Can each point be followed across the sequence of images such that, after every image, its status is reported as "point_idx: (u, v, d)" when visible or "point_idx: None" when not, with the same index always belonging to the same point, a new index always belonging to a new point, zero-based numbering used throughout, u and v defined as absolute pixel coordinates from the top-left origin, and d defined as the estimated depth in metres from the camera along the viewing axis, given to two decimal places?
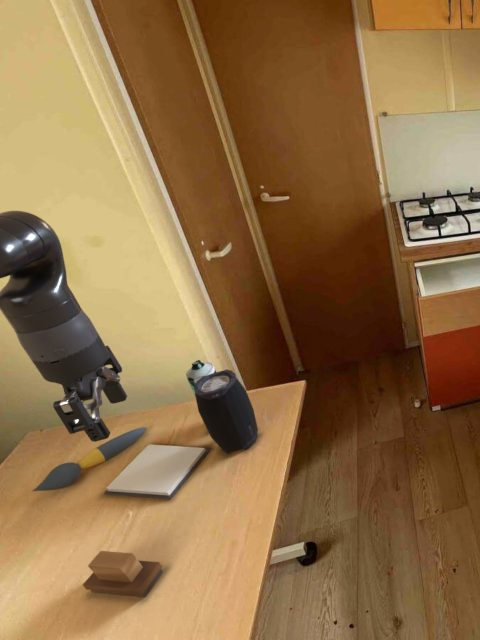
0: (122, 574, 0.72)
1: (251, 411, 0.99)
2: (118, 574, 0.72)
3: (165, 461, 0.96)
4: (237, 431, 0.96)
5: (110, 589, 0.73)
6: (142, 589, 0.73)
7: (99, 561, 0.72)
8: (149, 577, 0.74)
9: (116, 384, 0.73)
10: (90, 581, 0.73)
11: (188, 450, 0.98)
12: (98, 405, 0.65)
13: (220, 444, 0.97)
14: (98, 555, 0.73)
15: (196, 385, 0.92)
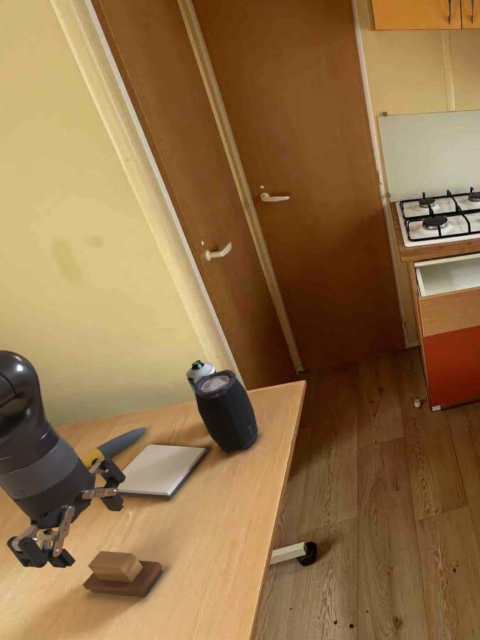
0: (122, 574, 0.72)
1: (251, 411, 0.99)
2: (118, 574, 0.72)
3: (165, 461, 0.96)
4: (237, 431, 0.96)
5: (110, 589, 0.73)
6: (142, 589, 0.73)
7: (99, 561, 0.72)
8: (149, 577, 0.74)
9: (111, 497, 0.71)
10: (90, 581, 0.73)
11: (188, 450, 0.98)
12: (61, 538, 0.63)
13: (220, 444, 0.97)
14: (98, 555, 0.73)
15: (196, 385, 0.92)
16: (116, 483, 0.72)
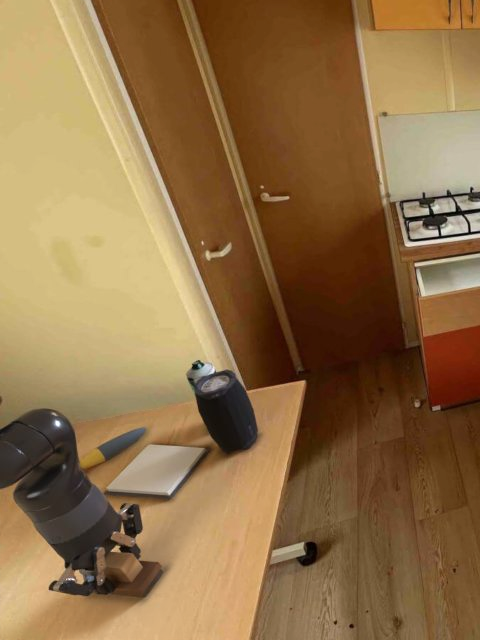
0: (122, 574, 0.72)
1: (251, 411, 0.99)
2: (118, 574, 0.72)
3: (165, 461, 0.96)
4: (237, 431, 0.96)
5: None
6: (142, 589, 0.73)
7: None
8: (149, 577, 0.74)
9: (129, 548, 0.75)
10: None
11: (188, 450, 0.98)
12: (100, 572, 0.69)
13: (220, 444, 0.97)
14: None
15: (196, 385, 0.92)
16: (134, 534, 0.76)
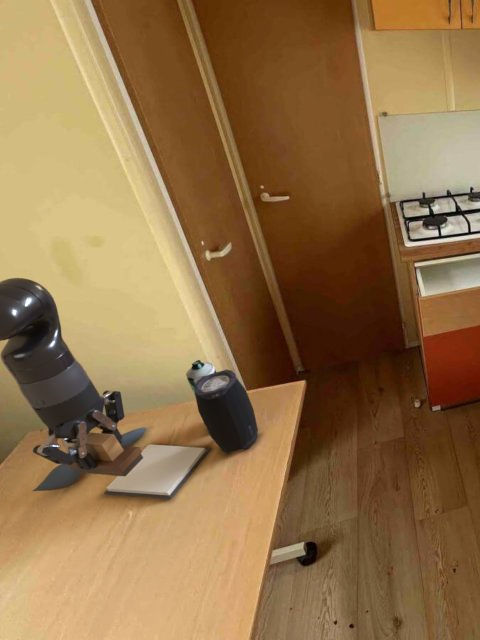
0: (103, 452, 0.77)
1: (251, 411, 0.99)
2: (99, 451, 0.77)
3: (165, 461, 0.96)
4: (237, 431, 0.96)
5: None
6: (122, 467, 0.78)
7: None
8: (129, 458, 0.79)
9: (111, 431, 0.80)
10: None
11: (188, 450, 0.98)
12: (82, 445, 0.74)
13: (220, 444, 0.97)
14: None
15: (196, 385, 0.92)
16: (116, 420, 0.81)
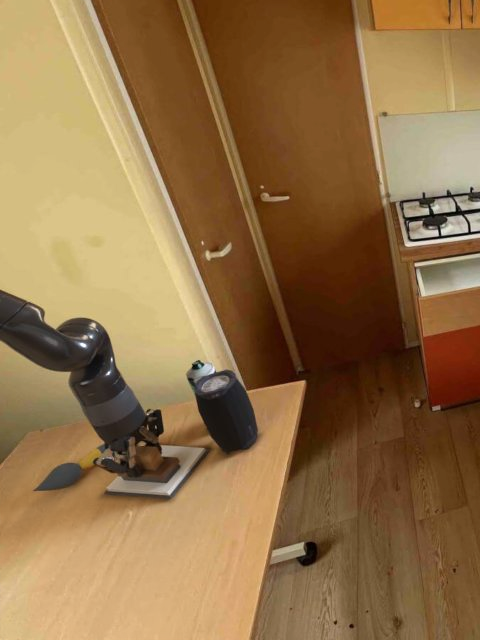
0: (148, 462, 0.89)
1: (251, 411, 0.99)
2: (145, 462, 0.89)
3: None
4: (237, 431, 0.96)
5: None
6: (164, 475, 0.90)
7: None
8: (169, 467, 0.91)
9: (153, 444, 0.92)
10: None
11: (188, 450, 0.98)
12: (131, 457, 0.86)
13: (220, 444, 0.97)
14: None
15: (196, 385, 0.92)
16: (157, 434, 0.93)
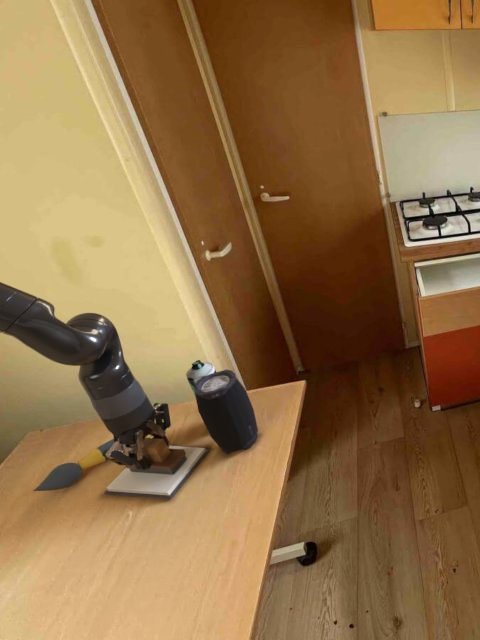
0: (155, 454, 0.91)
1: (251, 411, 0.99)
2: (152, 454, 0.91)
3: None
4: (237, 431, 0.96)
5: None
6: (171, 467, 0.92)
7: None
8: (176, 459, 0.93)
9: (160, 438, 0.94)
10: None
11: (188, 450, 0.98)
12: (140, 449, 0.88)
13: (220, 444, 0.97)
14: None
15: (196, 385, 0.92)
16: (164, 428, 0.95)
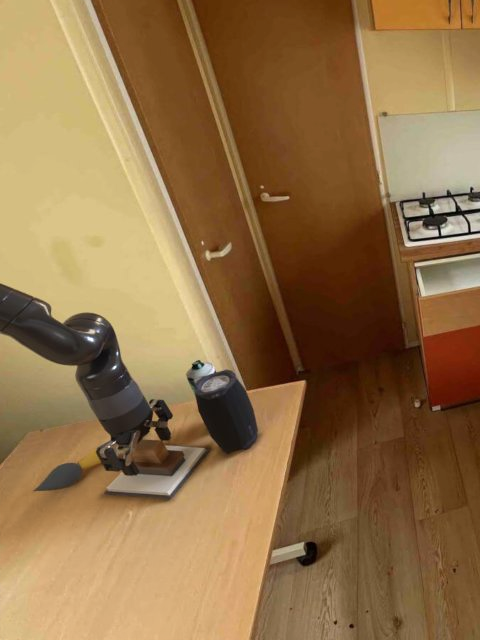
0: (154, 456, 0.91)
1: (251, 411, 0.99)
2: (150, 455, 0.91)
3: None
4: (237, 431, 0.96)
5: (144, 468, 0.91)
6: (169, 468, 0.92)
7: None
8: (175, 460, 0.93)
9: (163, 429, 0.95)
10: None
11: (188, 450, 0.98)
12: (131, 452, 0.86)
13: (220, 444, 0.97)
14: None
15: (196, 385, 0.92)
16: (166, 419, 0.95)
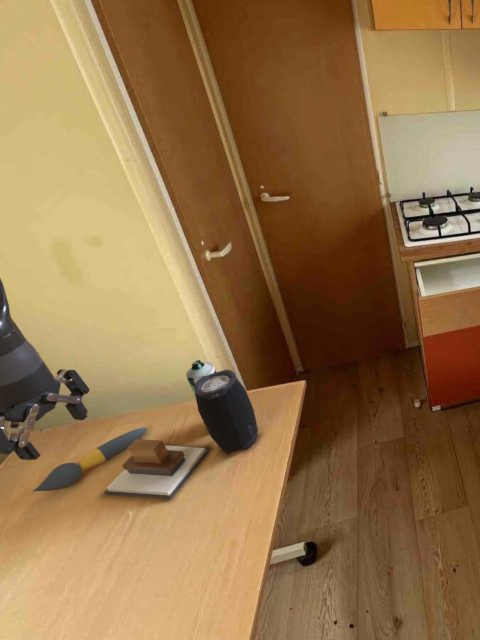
0: (154, 456, 0.91)
1: (251, 411, 0.99)
2: (150, 455, 0.91)
3: None
4: (237, 431, 0.96)
5: (144, 468, 0.91)
6: (169, 468, 0.92)
7: (135, 445, 0.91)
8: (175, 460, 0.93)
9: (75, 405, 0.79)
10: (127, 463, 0.92)
11: (188, 450, 0.98)
12: (26, 431, 0.71)
13: (220, 444, 0.97)
14: (134, 441, 0.91)
15: (196, 385, 0.92)
16: (80, 394, 0.80)
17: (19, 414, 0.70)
